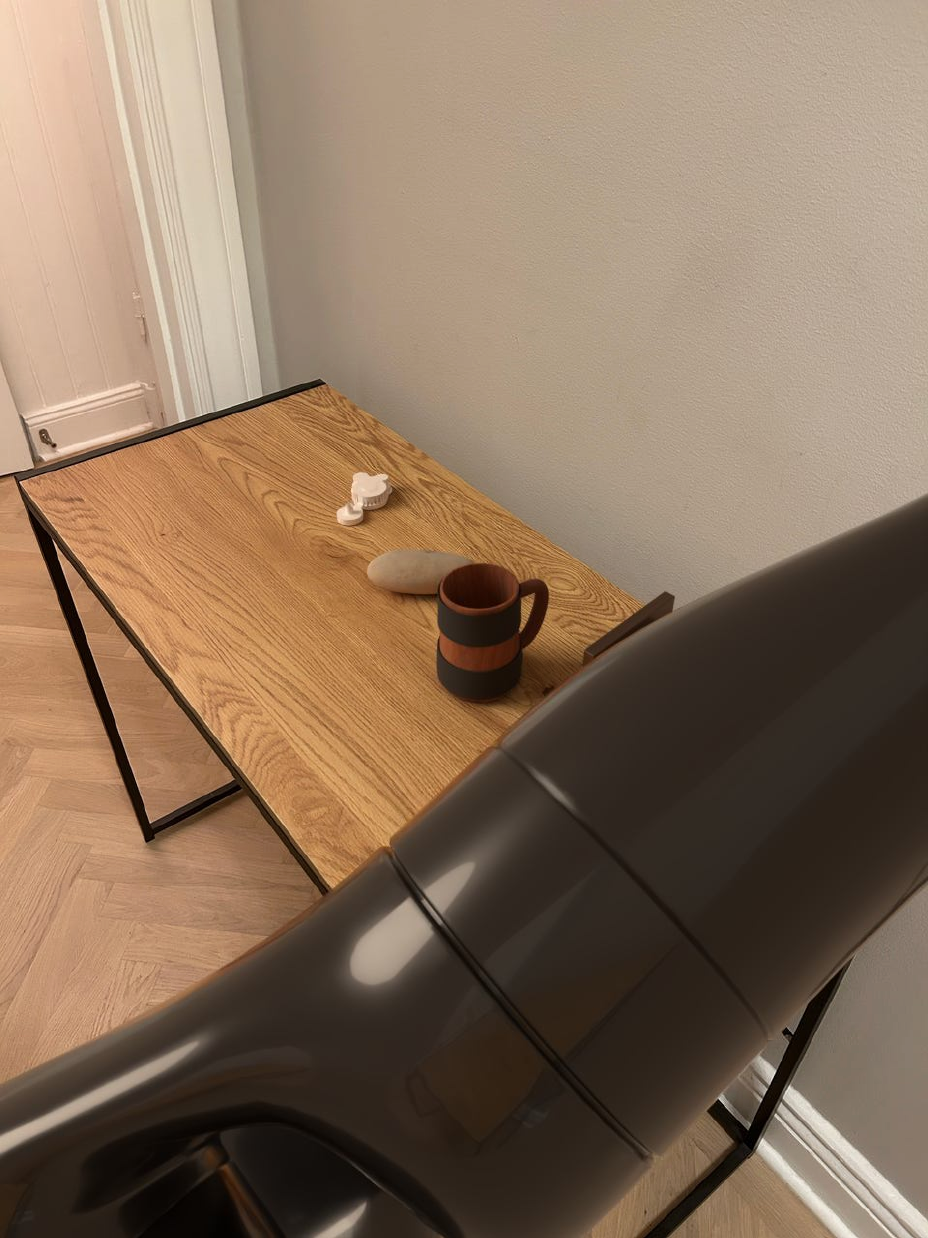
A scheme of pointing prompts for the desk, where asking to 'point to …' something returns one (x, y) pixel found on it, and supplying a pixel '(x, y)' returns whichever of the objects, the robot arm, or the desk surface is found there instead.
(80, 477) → the desk surface
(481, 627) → the mug
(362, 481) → the white rounded lumpy shapes
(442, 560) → the stone
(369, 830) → the desk surface
